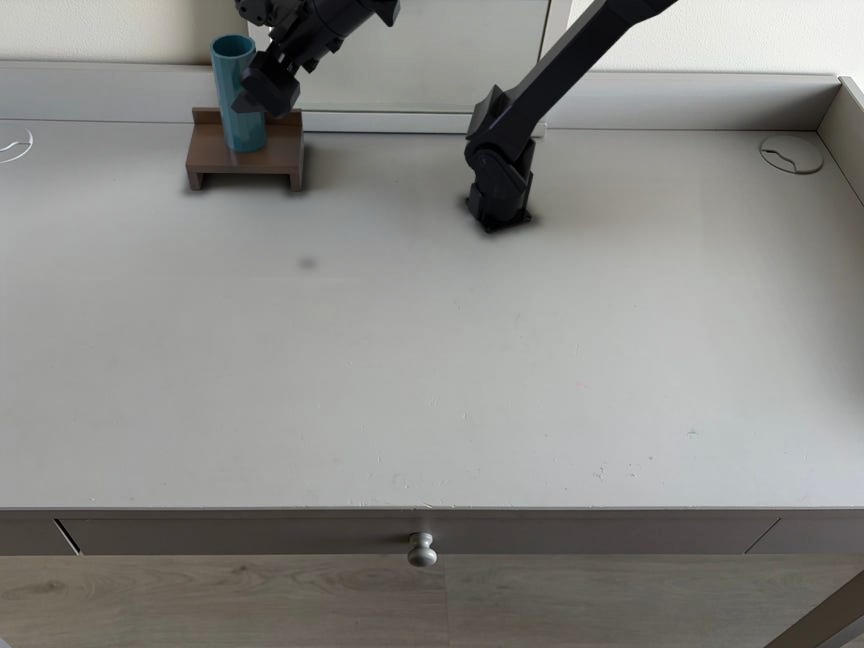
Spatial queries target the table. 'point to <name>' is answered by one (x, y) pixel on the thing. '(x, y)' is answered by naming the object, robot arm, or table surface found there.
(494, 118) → the robot arm
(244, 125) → the teal cylindrical vase
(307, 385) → the table surface
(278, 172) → the shelf
